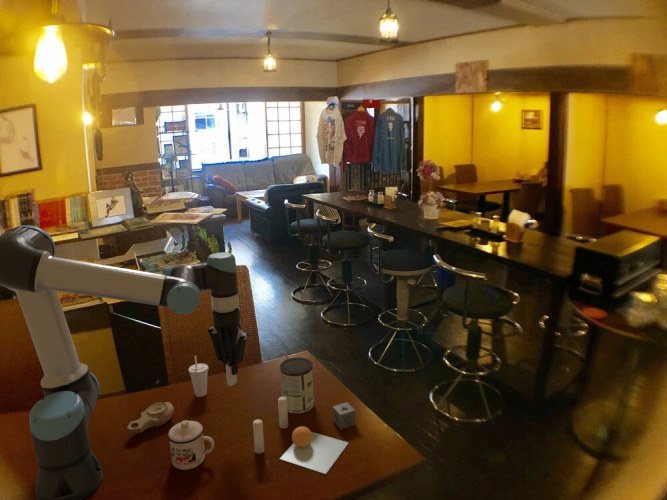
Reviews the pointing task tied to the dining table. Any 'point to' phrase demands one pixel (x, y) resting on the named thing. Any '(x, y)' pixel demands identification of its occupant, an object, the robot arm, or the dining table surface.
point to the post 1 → (258, 436)
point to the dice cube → (344, 415)
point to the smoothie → (199, 378)
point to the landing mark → (316, 453)
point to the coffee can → (297, 384)
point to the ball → (301, 436)
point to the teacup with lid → (188, 444)
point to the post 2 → (283, 412)
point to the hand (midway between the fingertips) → (232, 383)
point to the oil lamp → (152, 417)
